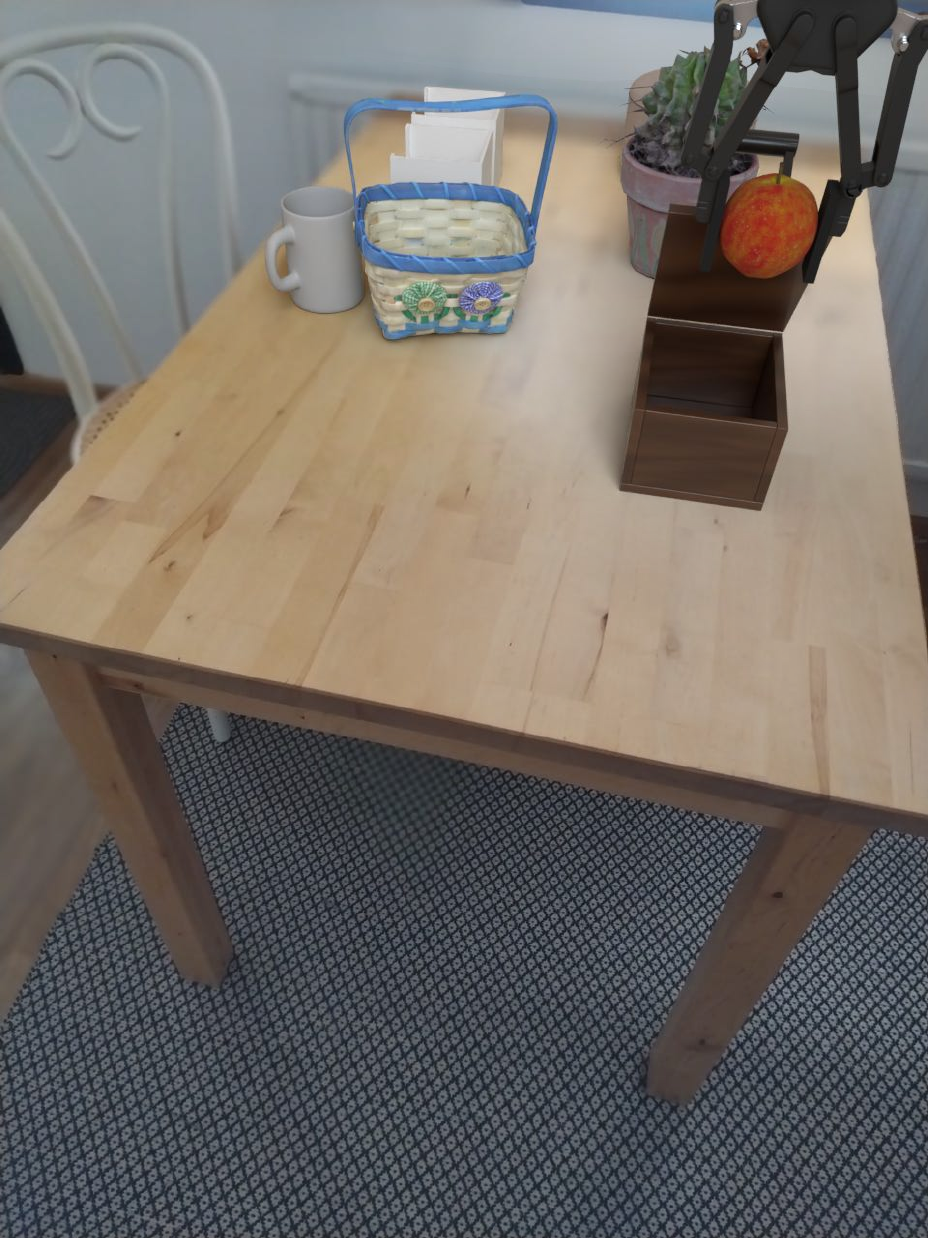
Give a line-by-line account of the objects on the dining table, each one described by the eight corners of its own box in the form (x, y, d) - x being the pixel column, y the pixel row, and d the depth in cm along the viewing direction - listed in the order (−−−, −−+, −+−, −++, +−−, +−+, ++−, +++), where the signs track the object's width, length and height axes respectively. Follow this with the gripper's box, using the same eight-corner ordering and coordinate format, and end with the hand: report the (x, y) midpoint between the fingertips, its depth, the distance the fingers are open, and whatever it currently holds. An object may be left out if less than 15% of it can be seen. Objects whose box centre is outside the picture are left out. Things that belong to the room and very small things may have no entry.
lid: (836, 230, 71) (850, 118, 72) (668, 212, 72) (685, 103, 74) (783, 332, 87) (795, 239, 88) (647, 316, 89) (661, 225, 90)
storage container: (479, 254, 116) (482, 163, 108) (393, 247, 117) (389, 156, 109) (501, 175, 133) (505, 91, 125) (426, 169, 134) (425, 86, 126)
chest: (761, 511, 83) (788, 429, 77) (619, 490, 85) (634, 408, 78) (758, 412, 94) (782, 332, 87) (632, 395, 95) (646, 316, 89)
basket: (363, 367, 98) (347, 130, 81) (352, 291, 109) (336, 69, 92) (554, 354, 101) (578, 122, 83) (524, 281, 112) (539, 63, 94)
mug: (332, 271, 112) (324, 178, 104) (379, 296, 108) (374, 201, 100) (252, 305, 106) (237, 209, 98) (298, 333, 102) (286, 235, 94)
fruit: (806, 298, 68) (840, 187, 62) (710, 289, 69) (735, 178, 63) (797, 255, 73) (829, 148, 67) (708, 247, 73) (731, 140, 67)
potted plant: (565, 239, 120) (588, 15, 101) (704, 225, 123) (750, 7, 105) (614, 307, 108) (650, 69, 89) (766, 290, 111) (831, 57, 93)
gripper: (1023, -111, 55) (885, 261, 72) (686, -132, 57) (629, 233, 74) (1052, -85, 50) (896, 308, 67) (681, -109, 52) (621, 277, 69)
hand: (756, 268), depth 70 cm, fingers closed on fruit, 7 cm apart
